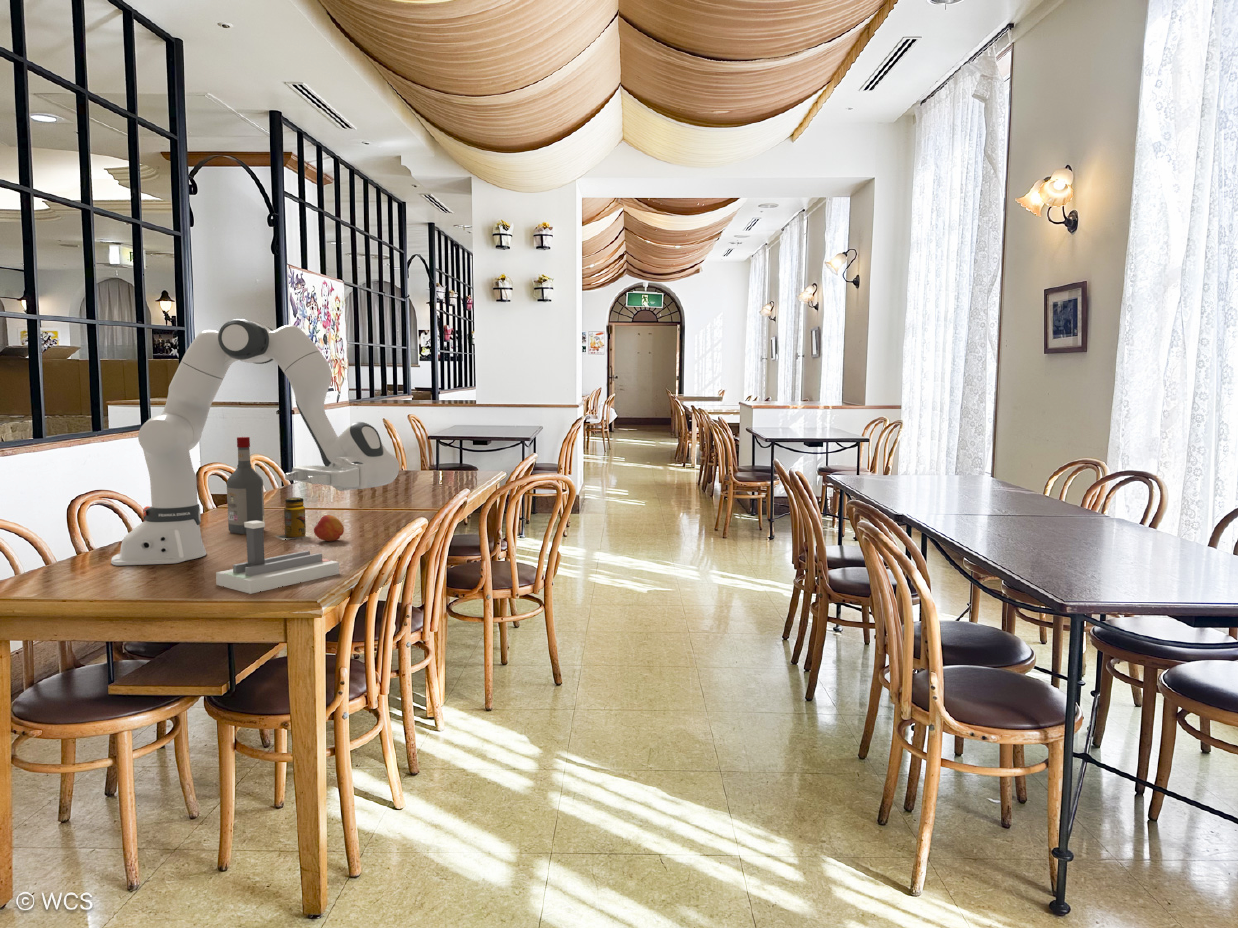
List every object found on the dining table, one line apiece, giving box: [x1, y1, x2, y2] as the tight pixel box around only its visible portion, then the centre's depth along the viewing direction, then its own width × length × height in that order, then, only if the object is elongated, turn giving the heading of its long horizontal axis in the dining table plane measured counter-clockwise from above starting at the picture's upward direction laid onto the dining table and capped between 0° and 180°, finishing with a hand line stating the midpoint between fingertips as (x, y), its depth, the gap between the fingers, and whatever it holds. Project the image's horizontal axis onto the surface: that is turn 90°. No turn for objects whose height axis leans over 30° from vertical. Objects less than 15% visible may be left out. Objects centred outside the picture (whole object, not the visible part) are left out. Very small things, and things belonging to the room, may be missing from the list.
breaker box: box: [215, 550, 340, 595], centre depth 202 cm, size 24×14×5 cm, turn 146°
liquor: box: [226, 436, 266, 535], centre depth 262 cm, size 9×9×30 cm
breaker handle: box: [244, 520, 266, 567], centre depth 196 cm, size 3×4×12 cm
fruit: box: [313, 514, 345, 542], centre depth 249 cm, size 8×8×8 cm
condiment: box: [274, 496, 311, 541], centre depth 255 cm, size 7×8×12 cm
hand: (298, 478), depth 205 cm, fingers open, 8 cm apart
